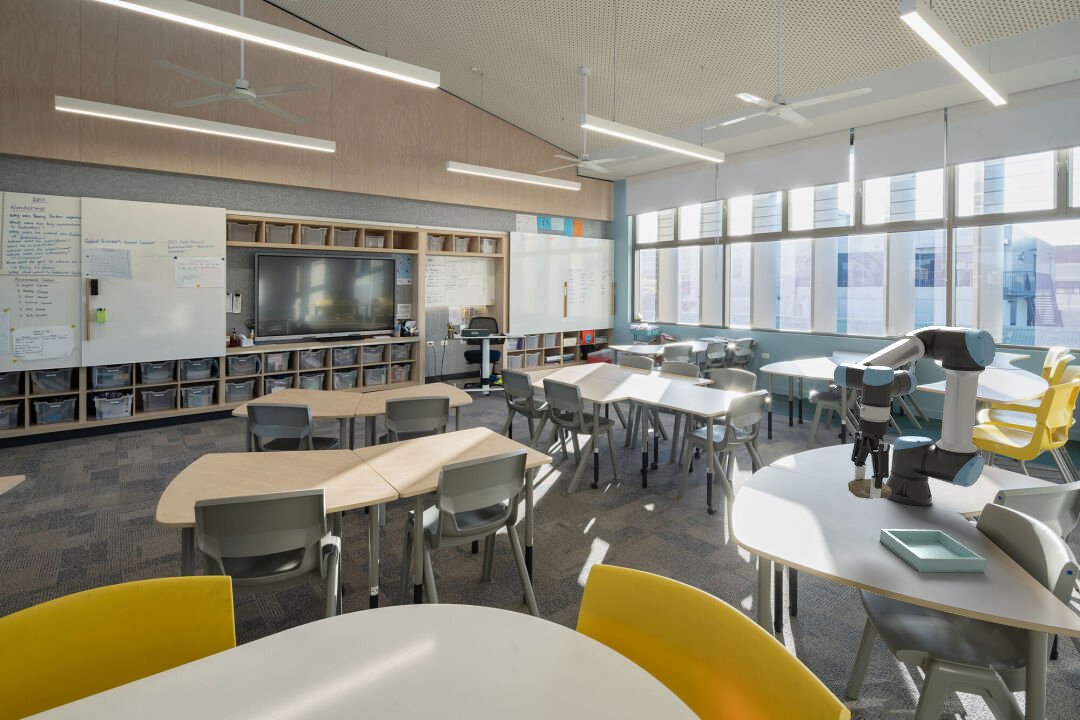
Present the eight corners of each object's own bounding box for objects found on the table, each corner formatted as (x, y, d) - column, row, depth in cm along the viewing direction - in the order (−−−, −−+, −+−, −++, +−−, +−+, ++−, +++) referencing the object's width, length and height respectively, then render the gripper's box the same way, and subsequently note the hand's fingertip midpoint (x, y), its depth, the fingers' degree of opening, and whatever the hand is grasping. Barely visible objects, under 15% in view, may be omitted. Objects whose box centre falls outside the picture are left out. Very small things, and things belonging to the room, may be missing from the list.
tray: (938, 542, 170) (939, 529, 170) (984, 572, 153) (985, 559, 152) (879, 541, 170) (881, 528, 170) (918, 571, 153) (920, 558, 152)
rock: (842, 490, 169) (844, 477, 169) (876, 489, 170) (878, 475, 170) (859, 500, 162) (860, 486, 161) (894, 499, 163) (896, 484, 162)
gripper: (842, 410, 173) (836, 479, 176) (882, 428, 152) (874, 506, 156) (866, 410, 173) (859, 479, 176) (909, 428, 152) (900, 506, 156)
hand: (866, 492), depth 166 cm, fingers closed on rock, 8 cm apart
